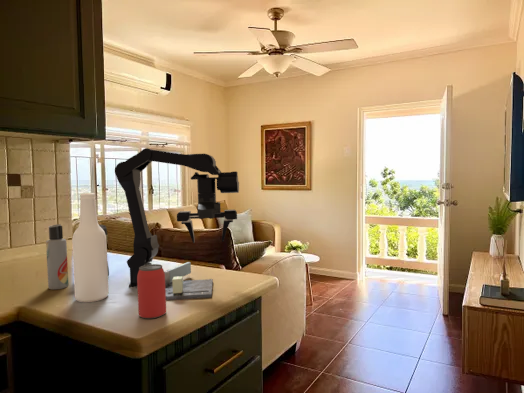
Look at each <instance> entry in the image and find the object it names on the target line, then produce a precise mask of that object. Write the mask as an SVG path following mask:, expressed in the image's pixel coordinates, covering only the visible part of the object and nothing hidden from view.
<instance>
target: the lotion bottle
mask: <svg viewBox="0 0 524 393" xmlns="http://www.w3.org/2000/svg"><path fill="white" fill-rule="evenodd" d="M63 231H64V230H63V225H62V224H61V223H60V224H59V223H58V224H57V223H56V224H53V225H49V226H48V240H46V241H45V248H46V268H47V269H46V270H47V283H48V284H47V285H48V289H50V290H60V289H65V288H68V286H69V270H68V269H69V268H68V267H69V266H68V265H69V264H68V250H67V249H68V247H67V244H68V243H67V239H66V238H64V233H63Z"/></svg>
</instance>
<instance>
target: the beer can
mask: <svg viewBox="0 0 524 393" xmlns="http://www.w3.org/2000/svg"><path fill="white" fill-rule="evenodd" d="M164 272H165V270H164V268H163V265H162V264H157V263H153V264H152V263H151V264H150V265H144V266H141V267H139V272H138V275H137V286H136V288H137V305H138V306H137V308H138V316H139V317H141V318H142V319H147V320H148V319H157V318H160V317H163V316H164V315H165V314H166V312H167V300H166V291H165V273H164Z"/></svg>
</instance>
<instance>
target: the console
mask: <svg viewBox="0 0 524 393" xmlns="http://www.w3.org/2000/svg"><path fill="white" fill-rule="evenodd" d="M213 283H214V282H213V279H212V278H210V279H208V278H207V279H193V280H183V292H182V293H174V294H173V282H170V284H165V291H166V301H174V300H175V301H177V300H178V301H179V300H192V299H193V300H194V299H209V298H212V294H213V285H214V284H213Z"/></svg>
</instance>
